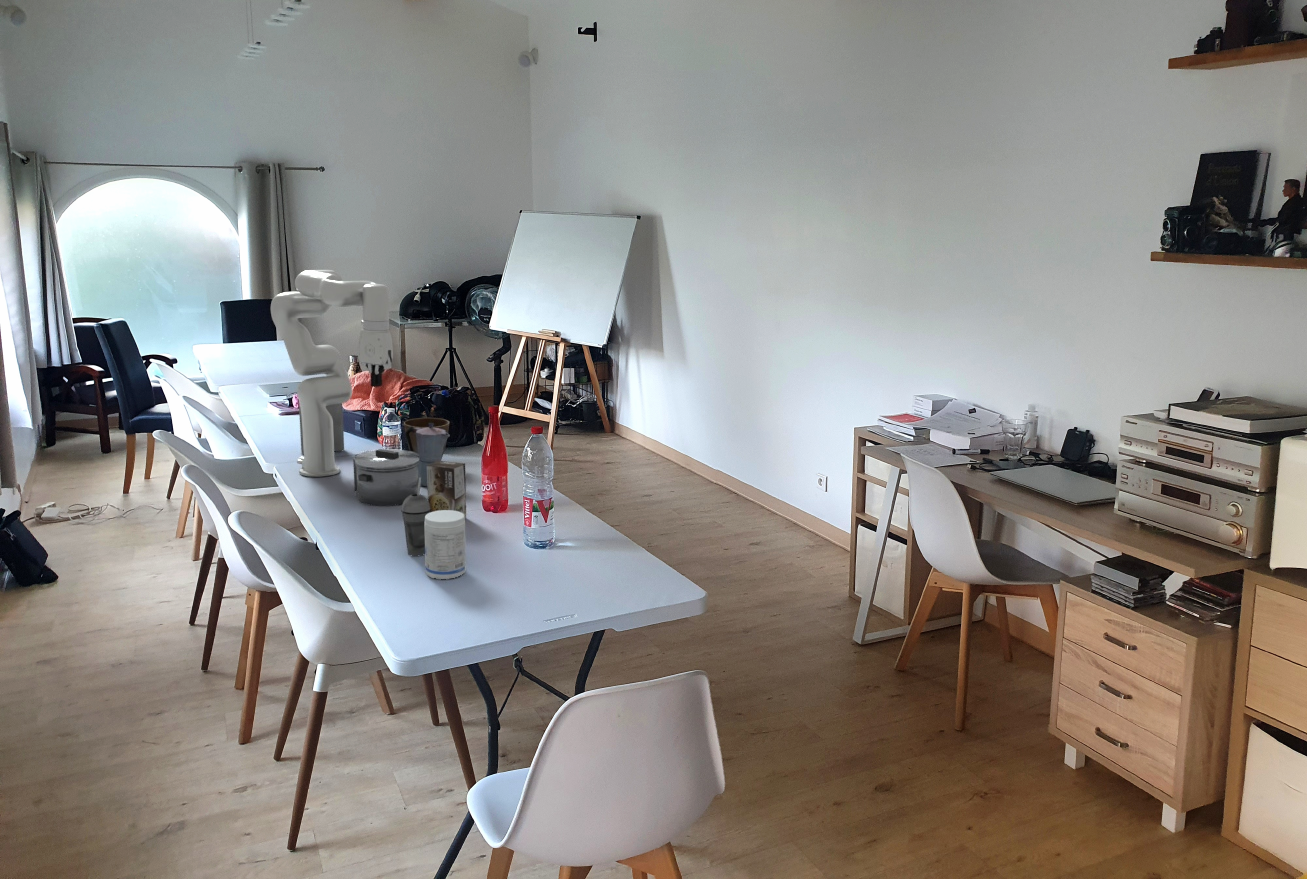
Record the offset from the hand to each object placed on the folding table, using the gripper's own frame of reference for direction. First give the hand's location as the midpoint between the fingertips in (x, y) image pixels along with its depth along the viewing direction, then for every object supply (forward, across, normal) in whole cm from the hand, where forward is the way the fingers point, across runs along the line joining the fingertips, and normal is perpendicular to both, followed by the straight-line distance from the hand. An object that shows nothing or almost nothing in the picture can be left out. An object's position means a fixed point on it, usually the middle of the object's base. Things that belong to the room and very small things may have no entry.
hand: (376, 386), depth 290 cm
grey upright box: (+36, -50, +28) cm, 67 cm away
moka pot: (+33, +8, +14) cm, 37 cm away
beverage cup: (+31, +47, -39) cm, 69 cm away
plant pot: (+34, -4, +30) cm, 45 cm away
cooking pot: (+33, +8, -4) cm, 34 cm away
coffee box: (+32, +36, -12) cm, 50 cm away
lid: (+21, +8, -4) cm, 23 cm away
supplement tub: (+30, +62, -47) cm, 84 cm away
